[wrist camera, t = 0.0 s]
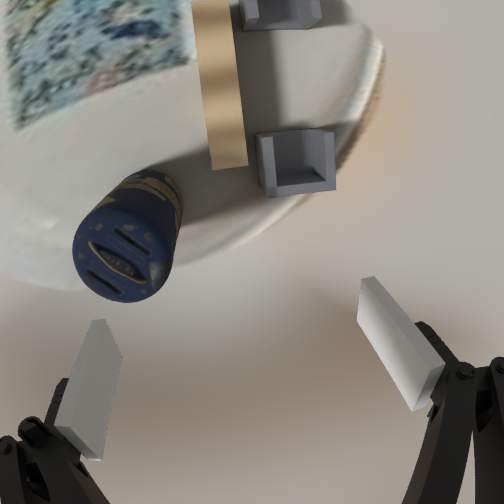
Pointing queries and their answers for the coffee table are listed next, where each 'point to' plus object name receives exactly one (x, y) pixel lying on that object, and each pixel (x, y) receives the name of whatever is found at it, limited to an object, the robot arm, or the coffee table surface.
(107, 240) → the canister
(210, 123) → the slat
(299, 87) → the coffee table surface
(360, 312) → the robot arm
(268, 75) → the coffee table surface
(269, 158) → the endcap
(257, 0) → the endcap
